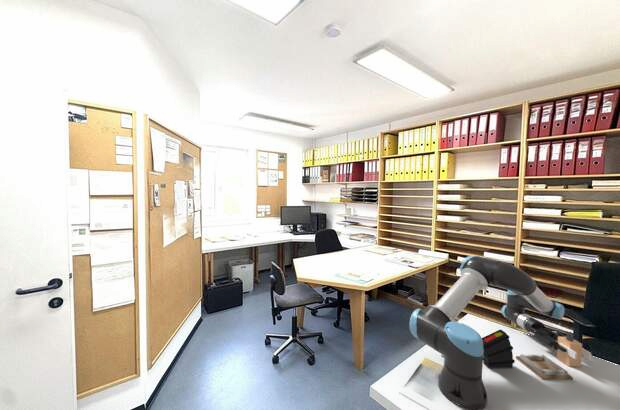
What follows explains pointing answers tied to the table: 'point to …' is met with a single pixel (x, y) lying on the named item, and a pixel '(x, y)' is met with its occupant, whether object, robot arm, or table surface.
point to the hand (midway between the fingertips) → (582, 356)
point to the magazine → (497, 350)
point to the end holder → (544, 367)
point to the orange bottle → (572, 345)
